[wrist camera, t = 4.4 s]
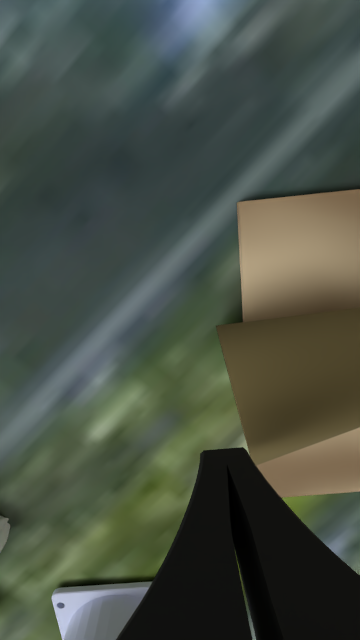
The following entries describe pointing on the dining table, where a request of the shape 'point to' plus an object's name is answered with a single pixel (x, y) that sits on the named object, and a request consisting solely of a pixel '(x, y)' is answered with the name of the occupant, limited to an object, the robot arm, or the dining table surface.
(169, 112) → the dining table surface
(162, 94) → the dining table surface
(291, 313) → the wooden board
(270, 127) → the dining table surface
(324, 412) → the pepper shaker
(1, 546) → the sitting furry creature
